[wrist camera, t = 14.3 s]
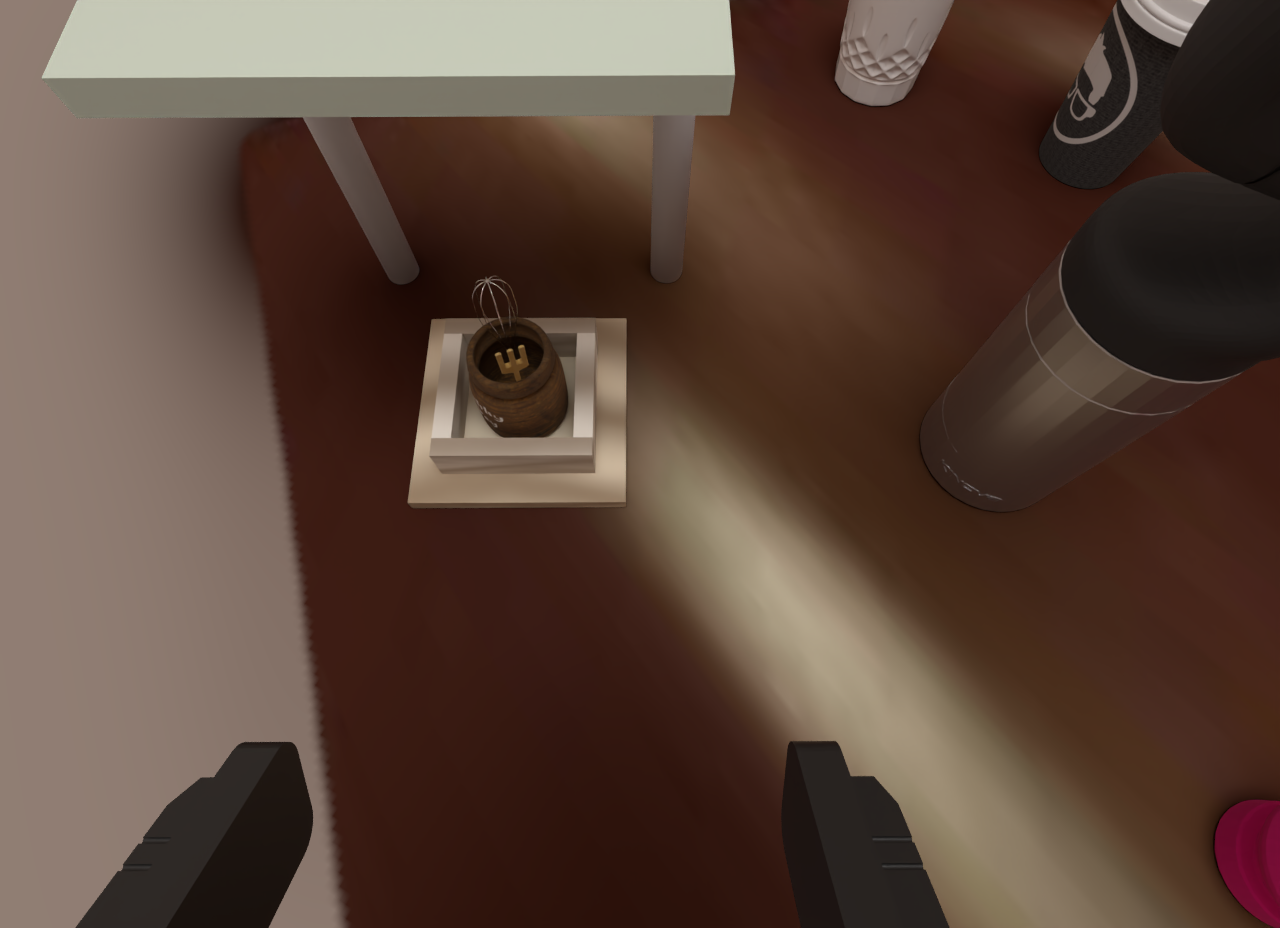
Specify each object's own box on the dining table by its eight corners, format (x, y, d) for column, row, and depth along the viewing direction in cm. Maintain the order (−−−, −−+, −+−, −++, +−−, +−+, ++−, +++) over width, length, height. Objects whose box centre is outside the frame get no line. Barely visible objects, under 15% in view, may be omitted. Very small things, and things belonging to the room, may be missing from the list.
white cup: (808, 76, 61) (838, -45, 51) (868, 35, 63) (908, -88, 53) (877, 126, 58) (921, 9, 49) (937, 82, 60) (990, -39, 51)
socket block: (625, 507, 46) (624, 485, 42) (412, 508, 46) (392, 486, 42) (626, 326, 51) (625, 292, 47) (435, 327, 51) (419, 293, 47)
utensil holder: (553, 357, 49) (528, 240, 38) (583, 432, 46) (565, 332, 35) (472, 383, 48) (421, 272, 37) (498, 462, 46) (452, 369, 35)
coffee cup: (1093, 223, 54) (1248, 43, 41) (995, 154, 57) (1109, -37, 43) (1162, 163, 57) (1331, -27, 43) (1065, 99, 60) (1194, -99, 46)
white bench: (687, 437, 47) (741, 75, 22) (359, 438, 47) (35, 78, 22) (681, 257, 53) (718, -194, 28) (389, 258, 53) (160, -192, 28)
